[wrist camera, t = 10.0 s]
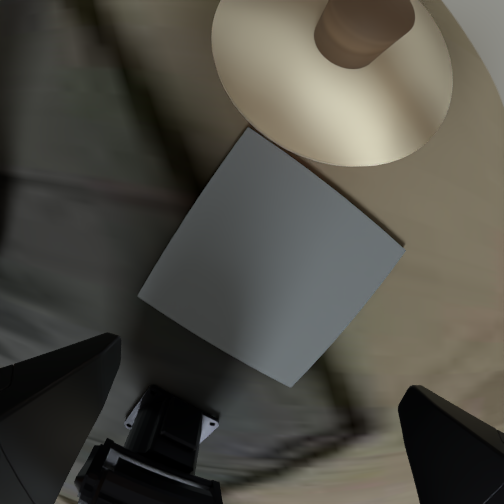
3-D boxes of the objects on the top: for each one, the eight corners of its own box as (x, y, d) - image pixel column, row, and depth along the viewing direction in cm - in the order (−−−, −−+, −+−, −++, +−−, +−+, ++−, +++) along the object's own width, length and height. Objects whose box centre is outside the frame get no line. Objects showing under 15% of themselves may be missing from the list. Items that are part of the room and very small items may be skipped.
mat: (289, 384, 22) (290, 387, 22) (139, 293, 20) (137, 296, 20) (403, 249, 20) (405, 250, 19) (248, 127, 18) (248, 126, 17)
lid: (371, 217, 14) (424, 239, 9) (163, 74, 12) (124, 33, 7) (469, 58, 12) (523, 37, 7) (300, -64, 10) (313, -117, 5)
